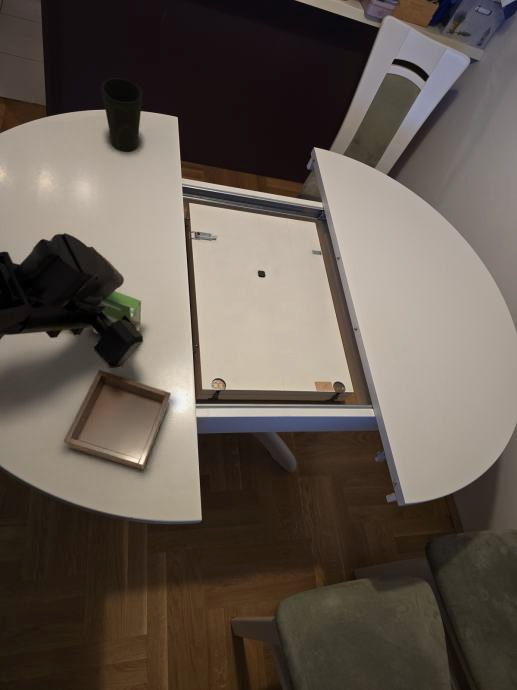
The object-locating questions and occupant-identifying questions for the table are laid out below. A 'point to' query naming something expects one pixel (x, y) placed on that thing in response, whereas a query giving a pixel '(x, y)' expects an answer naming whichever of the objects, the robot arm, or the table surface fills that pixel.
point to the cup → (122, 112)
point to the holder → (118, 420)
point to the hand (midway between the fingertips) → (122, 307)
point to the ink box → (122, 308)
